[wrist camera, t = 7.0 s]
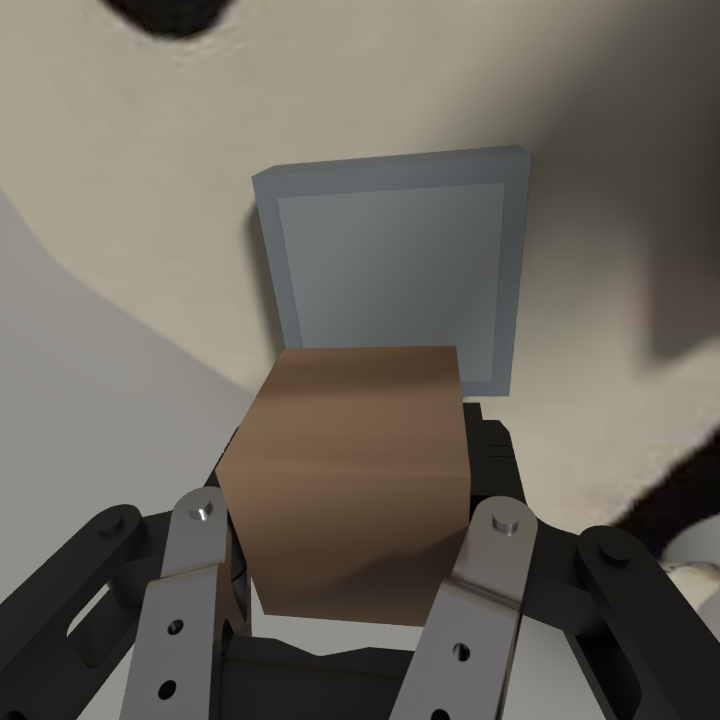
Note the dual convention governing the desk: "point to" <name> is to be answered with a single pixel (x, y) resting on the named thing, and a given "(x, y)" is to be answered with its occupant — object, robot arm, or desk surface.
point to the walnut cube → (352, 482)
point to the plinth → (401, 254)
